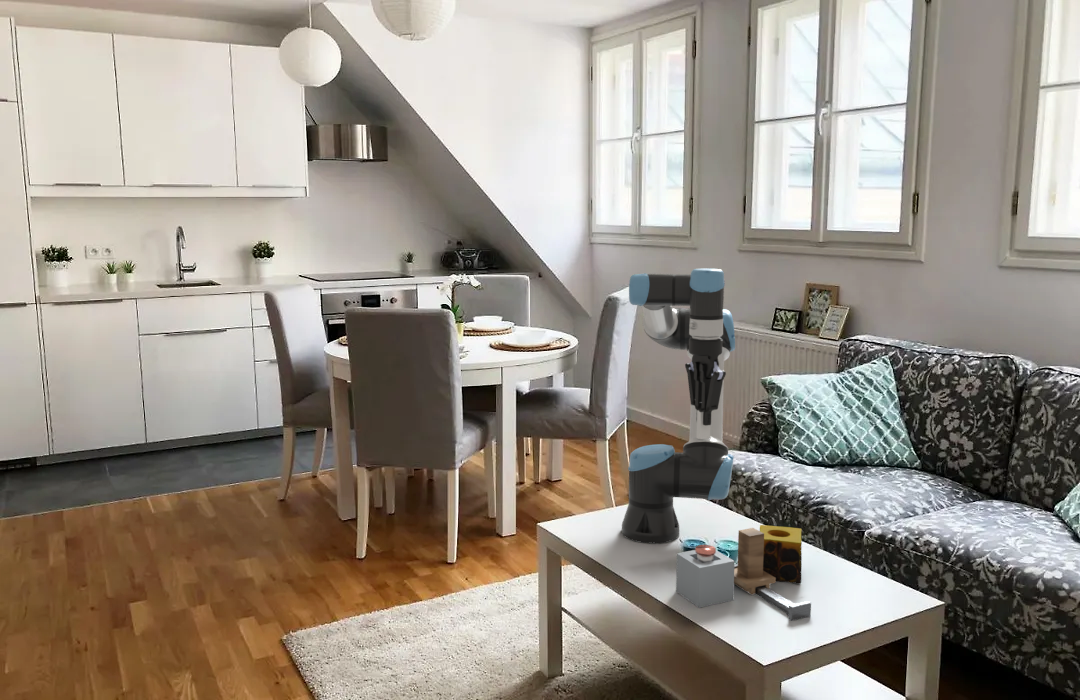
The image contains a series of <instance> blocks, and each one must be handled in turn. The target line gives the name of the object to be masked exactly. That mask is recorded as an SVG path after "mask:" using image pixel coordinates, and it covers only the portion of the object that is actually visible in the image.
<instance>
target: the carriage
mask: <svg viewBox="0 0 1080 700" xmlns="http://www.w3.org/2000/svg"><path fill="white" fill-rule="evenodd" d="M737 534H738V539H737V541H738V542H737V564H738V566H737V568H736V569H734V586H735V585H736V586H737V587H739V588H740V589H742V590H743V591H744V592H747V593H748V594H749V595H751V596H752V595H756V594H755V587H758V586H763V585H764V586H766V587H767V588H769V589H771V584H775V583H776V582H777V581H776V578H775V577H774V576H772V575H770V574H768V573H767V572H765V571H763V555H764V533H762V532H760V530H758V529H756V528H755V527H749V528H745V529H739V530H738V533H737Z"/></svg>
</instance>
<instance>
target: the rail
mask: <svg viewBox="0 0 1080 700" xmlns="http://www.w3.org/2000/svg"><path fill="white" fill-rule="evenodd" d="M737 566H738V563H735V564H734V569H736V568H737ZM754 595H756V596H758V597H760V598H761V599H763V600H765V601H766V602H768V603H769V604H771V606H772V605H773V606H774V607H775V608H777V609H778V610H780V611H782V612H783V613H785V614H787V615H788V616H787V617H788V620H789V621H797V620H801V619H805V618H808V617H811V615H812V602H811V601H809V600H805V601H802V602H797V603H794V602H793V601H791V600H790V599H788V598H785V597H784V596H782V594H781V595H780V594H779V593H777V592H775V591H774V590H773V589H771V588H770V589H769V588H767V587H766V586H764V585H763V586H758V587H755V594H754Z"/></svg>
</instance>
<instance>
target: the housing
mask: <svg viewBox="0 0 1080 700" xmlns="http://www.w3.org/2000/svg"><path fill="white" fill-rule="evenodd" d="M735 564H736V563H735V560H733V559H732V558H731V557H728V556H727V555H725V554H723V553H721V552H720V551H718V550H717V549H716V553H715V554H714V561H710V562H705V563H701V562H700V561H698V560H697V553H696V552H695V549H692V550H688V551H686V550H685V551H683V552H677V553H676V580H675V592H676V593H678V594H679V595H681V596H682V597H683V598H684V599H686V600H687V601H689V602H690V603H692V604H693V605H695V607H697V608H703V607H707V606H713V605H717V604H723V603H727V602H731V601H734V593H735V590H734V589H735V584H734V565H735Z"/></svg>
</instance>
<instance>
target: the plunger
mask: <svg viewBox="0 0 1080 700" xmlns="http://www.w3.org/2000/svg"><path fill="white" fill-rule="evenodd" d="M694 550H695V552H696V553H697V560H698V561H700V562H701V563H705V562H710V561H714V554H715V553H716V550H717V548H716V547H715V546H713V545H710V544H699V545H696V546H695V549H694Z"/></svg>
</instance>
